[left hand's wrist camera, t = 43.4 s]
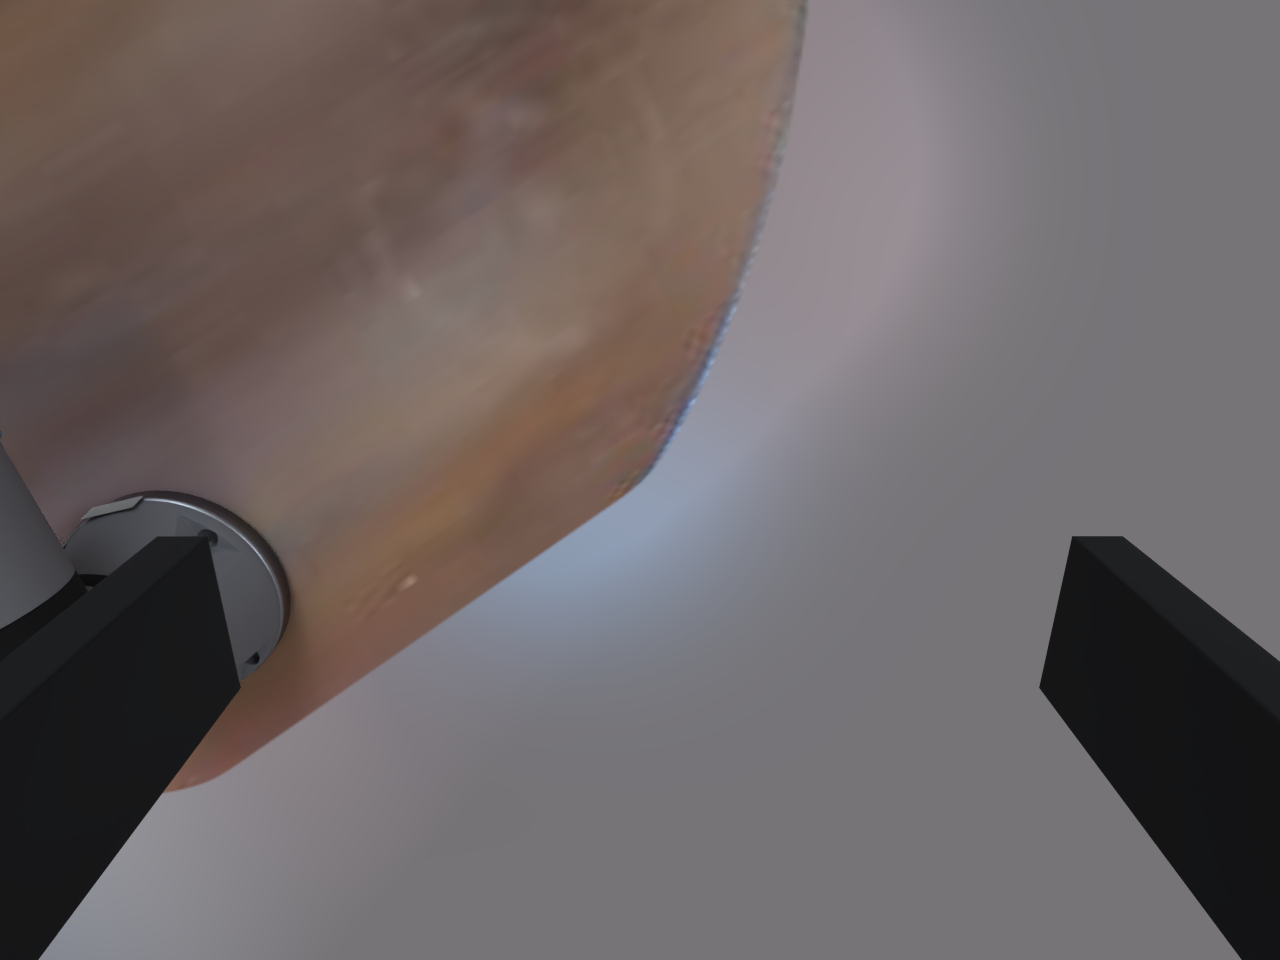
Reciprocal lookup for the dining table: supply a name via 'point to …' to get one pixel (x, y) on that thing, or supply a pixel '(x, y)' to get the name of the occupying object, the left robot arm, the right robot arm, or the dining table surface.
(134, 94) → the dining table surface
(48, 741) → the left robot arm
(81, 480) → the dining table surface
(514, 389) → the dining table surface
